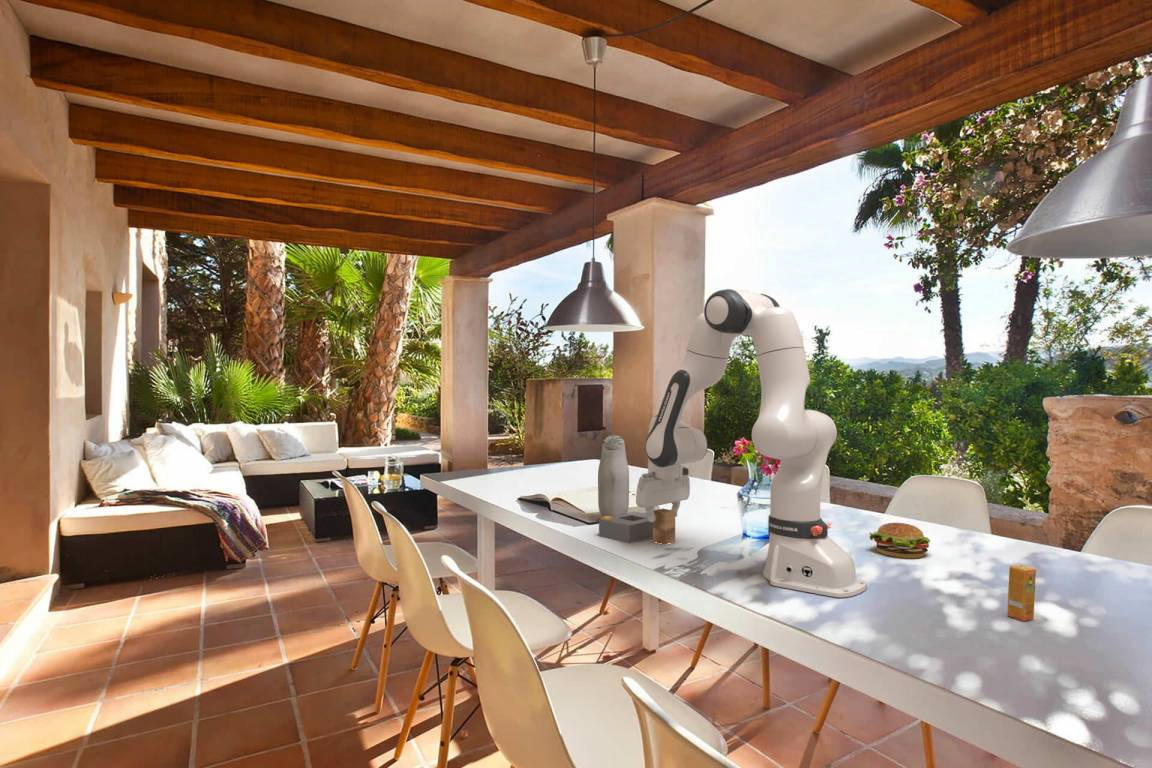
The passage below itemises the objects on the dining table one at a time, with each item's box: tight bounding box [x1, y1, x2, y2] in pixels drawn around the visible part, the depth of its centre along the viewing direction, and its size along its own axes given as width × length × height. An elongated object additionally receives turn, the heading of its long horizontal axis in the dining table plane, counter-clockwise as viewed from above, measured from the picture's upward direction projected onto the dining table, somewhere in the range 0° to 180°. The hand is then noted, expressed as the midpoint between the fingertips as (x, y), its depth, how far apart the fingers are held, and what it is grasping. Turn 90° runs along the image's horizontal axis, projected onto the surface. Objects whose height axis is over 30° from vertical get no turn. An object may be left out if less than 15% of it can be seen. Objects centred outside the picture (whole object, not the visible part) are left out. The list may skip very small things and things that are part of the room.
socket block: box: [598, 511, 653, 544], centre depth 195 cm, size 12×16×6 cm
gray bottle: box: [597, 434, 630, 518], centre depth 214 cm, size 10×10×28 cm
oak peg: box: [652, 508, 676, 545], centre depth 186 cm, size 4×4×9 cm
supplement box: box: [1007, 563, 1037, 622], centre depth 127 cm, size 3×3×10 cm
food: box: [869, 522, 931, 559], centre depth 175 cm, size 14×14×8 cm
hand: (663, 519), depth 186 cm, fingers open, 8 cm apart
